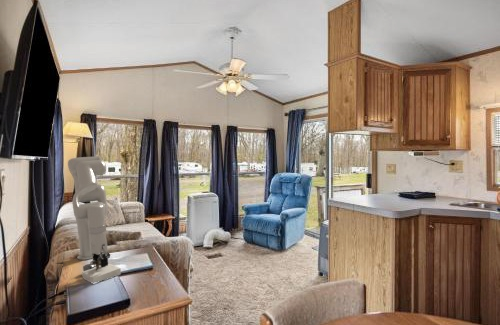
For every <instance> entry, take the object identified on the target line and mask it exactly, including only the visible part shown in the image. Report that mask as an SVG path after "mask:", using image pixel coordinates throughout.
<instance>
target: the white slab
mask: <svg viewBox="0 0 500 325" xmlns="http://www.w3.org/2000/svg"><path fill="white" fill-rule="evenodd" d="M121 272H122V270H121V267H118V266H116V265H114V264H111V263H109V262H108V266H105V267H101V266H99V268H98V269H97V271H96V267H94V268H93V269H90V270H87V271H84V272H83V271H82V272H81V275H82V279H84V281H87V282H89V283H90V282H93V283H94V282H98V281H101V280H104V279H107V278H109V279H112V278H114V276H115V277H118V276H120V275H122V273H121ZM111 277H112V278H111ZM107 280H108V279H107ZM104 281H105V280H104ZM101 282H102V281H101Z"/></svg>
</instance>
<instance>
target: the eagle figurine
mask: <svg viewBox="0 0 500 325" xmlns="http://www.w3.org/2000/svg"><path fill="white" fill-rule="evenodd" d="M102 256H103V254H102ZM110 257H111V253H109V252H108V259H110ZM100 259H101V257H100V256H99V257H98V259H97V261H95V260H93V259H92V260H91V261H90V262H89V264H91V265H94V268H96V271H97V269H98V268H99V266H101V261H100Z"/></svg>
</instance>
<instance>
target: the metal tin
mask: <svg viewBox="0 0 500 325" xmlns="http://www.w3.org/2000/svg"><path fill="white" fill-rule="evenodd" d="M94 266H95V265H91V264H90V263H88V264H85V265H83V266H82V270H83V271H82V272H84V271H87V270H90V269H93V268H95V267H94Z"/></svg>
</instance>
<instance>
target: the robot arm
mask: <svg viewBox="0 0 500 325" xmlns="http://www.w3.org/2000/svg"><path fill="white" fill-rule="evenodd" d="M67 168H68V171H69V172H70V174H71V177H72V178H73V182H74V183H73V184H74V194H73V197H72V201H71V203H72V204H71V205H72V211H73V215H74V217H75V221H76V225H77V226H76V227H77V236H78V246H79V247H78V248H79V254H78V255H77V258H76V259H78V260H79V261H85V260H91V259H92V261H93V260H95V261H97V259H98V257H99V256H100V257H101V259H100V261H101V267H105V266H108V263H109V260H108V259H109V258H108V253H109V249H108V240H107V239H108V238H107V235H106V234H107V225H106V216H107V214H108V203H107V194H106V189H105V186H104V185H103V184H98V180H97V176H104V175H105V174H106V173H107V164H106V163H105V160H103V158H102V157H101V156H83V157H81V156H80V157H73V158H70V159H69V160H67ZM93 201H97V202H93ZM85 202H86V203H85ZM87 202H89V203H87ZM80 203H81V204H80ZM82 203H83V204H82ZM102 254H103V256H102Z"/></svg>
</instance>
